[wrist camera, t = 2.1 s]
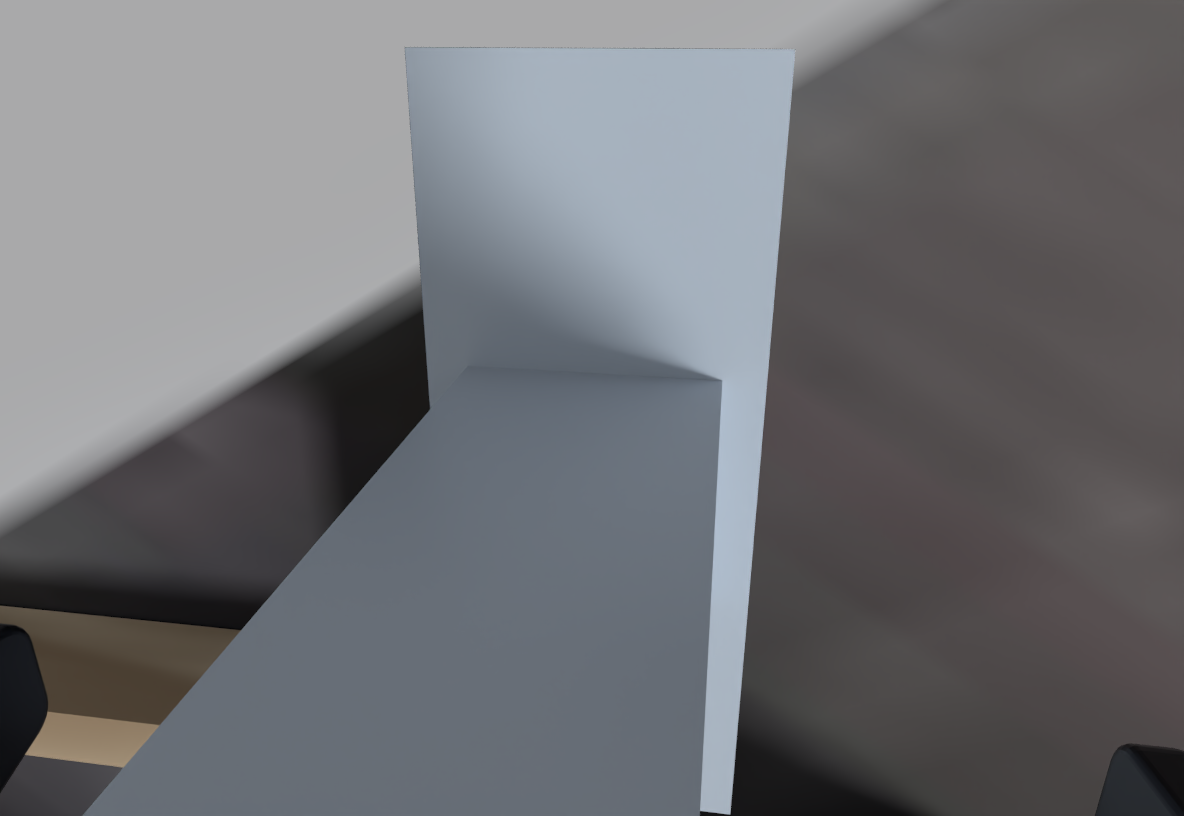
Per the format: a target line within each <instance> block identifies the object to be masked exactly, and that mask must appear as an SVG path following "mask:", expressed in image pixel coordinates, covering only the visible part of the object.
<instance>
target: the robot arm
mask: <svg viewBox="0 0 1184 816" xmlns="http://www.w3.org/2000/svg"><path fill="white" fill-rule="evenodd" d="M47 712H48V696H47V692H46V689H45V685H44V682H43V678H42V675H41V671H40V668H39V664H38V661H37V657H36V654H35V650H34V647H33V643H32V640H31V638H30V636H29V634H28V633H27V632H26V631H25V630H24V629H23V628H21V627H19V626H16V625H11V624H2V623H0V793H1V791H2V790H3V788H4V787H5V785H6V783H7V782H8V780H9V779H10V777H11V776H12V774H13V773H14V771H15V770H16V768H17V766H18V765H19V763H20V762H21V760H22V759H23V757H24V756H25V754H26V752H27V751H28V749H29V748H30V746H31V745H32V743H33V742H34V740H35V739H36V737H37V735H38V734H39V732H40V731H41V729H42V727H43V725H44V722H45V720H46V717H47ZM1095 816H1184V751H1182V750H1179V749H1175V748H1168V747H1159V746H1149V745H1140V744H1125V745H1122V746H1120V747H1119V748H1118V749H1117V750H1116V751H1115V753H1114V755H1113V757H1112V759H1111V762H1110V765H1109V769H1108V772H1107V776H1106V779H1105V783H1104V786H1103V789H1102V793H1101V796H1100V800H1099V803H1098V807H1097V810H1096V814H1095Z"/></svg>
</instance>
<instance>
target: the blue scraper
mask: <svg viewBox="0 0 1184 816" xmlns="http://www.w3.org/2000/svg"><path fill="white" fill-rule="evenodd" d="M405 59H406V71H407V72H406V73H407V87H408V101H409V116H410V130H411V144H412V158H413V173H414V187H415V201H416V215H417V228H418V229H417V230H418V244H419V257H420V273H421V287H422V301H423V315H424V330H425V344H426V358H427V372H428V387H429V401H430V410H429V411H428V413H427V414H426V415H425V416H424V417H423V418H422V420H421V421H420V422H419V423H418V424H417V425H416V427H415V428H414V429H413V430H412V431H411V432H410V434H409V435H408V436H407V437H406V438H405V439H404V441H403V442H402V443H401V444H400V445H399V447H398V448H397V449H396V450H395V451H394V452H393V454H392V455H391V456H390V457H389V458H388V459H387V461H386V462H385V463H384V464H383V465H382V466H381V468H380V469H379V470H378V471H377V472H376V473H375V475H374V476H373V477H372V478H371V479H370V480H369V482H368V483H367V484H366V485H365V486H364V487H363V489H362V490H361V491H360V492H359V493H358V494H357V496H356V497H355V498H354V499H353V500H352V501H351V503H350V504H349V505H348V506H347V507H346V508H345V510H344V511H343V512H342V513H341V514H340V515H339V517H338V518H337V519H336V520H335V521H334V522H333V524H332V525H331V526H330V527H329V528H328V529H327V531H326V532H325V533H324V534H323V535H322V536H321V538H320V539H319V540H318V541H317V542H316V543H315V545H314V546H313V547H312V548H311V549H310V550H309V552H308V553H307V554H306V555H305V556H304V557H303V559H302V560H301V561H300V562H299V563H298V564H297V566H296V567H295V568H294V569H293V570H292V571H291V573H290V574H289V575H288V576H287V577H286V578H285V580H284V581H283V582H282V583H281V584H280V585H279V587H278V588H277V589H276V590H275V591H274V592H273V594H272V595H271V596H270V597H269V598H268V599H267V601H266V602H265V603H264V604H263V605H262V606H261V608H260V609H259V610H258V611H257V612H256V614H255V615H254V616H253V617H252V618H251V619H250V621H249V622H248V623H247V624H246V625H245V626H244V628H243V629H242V630H241V631H240V632H239V633H238V635H237V636H236V637H235V638H234V639H233V640H232V642H231V643H230V644H229V645H228V646H227V647H226V649H225V650H224V651H223V652H222V653H221V654H220V656H219V657H218V658H217V659H216V660H215V661H214V663H213V664H212V665H211V666H210V667H209V668H208V670H207V671H206V672H205V673H204V674H203V675H202V677H201V678H200V679H199V680H198V681H197V682H196V684H195V685H194V686H193V687H192V688H191V689H190V691H189V692H188V693H187V694H186V695H185V696H184V698H183V699H182V700H181V701H180V702H179V703H178V705H177V706H176V707H175V708H174V709H173V710H172V712H171V713H170V714H169V715H168V716H167V717H166V719H165V720H164V721H163V722H162V723H161V724H160V726H159V727H158V728H157V729H156V730H155V731H154V733H153V734H152V735H151V736H150V737H149V738H148V740H147V741H146V742H145V743H144V744H143V745H142V747H141V748H140V749H139V750H138V751H137V752H136V754H135V755H134V756H133V757H132V758H131V759H130V761H129V762H128V763H127V764H126V765H125V766H124V768H123V769H122V770H121V771H120V772H119V774H118V775H117V776H116V777H115V778H114V779H113V781H112V782H111V783H110V784H109V785H108V786H107V788H106V789H105V790H104V791H103V792H102V793H101V795H100V796H99V797H98V798H97V799H96V800H95V802H94V803H93V804H92V805H91V806H90V807H89V809H88V810H87V811H86V812H85V813H84V814H83V816H700V811H705V812H713V813H721V814H729V815H730V812H731V800H732V788H733V777H734V765H735V753H736V741H737V730H738V718H739V706H740V694H741V682H742V671H743V659H744V647H745V635H746V624H747V612H748V600H749V588H750V577H751V565H752V553H753V541H754V529H755V518H756V506H757V494H758V482H759V471H760V459H761V447H762V435H763V424H764V412H765V400H766V388H767V377H768V365H769V353H770V341H771V329H772V318H773V306H774V294H775V282H776V271H777V259H778V247H779V235H780V224H781V212H782V200H783V188H784V177H785V165H786V153H787V141H788V129H789V118H790V106H791V94H792V82H793V71H794V59H795V49H679V48H677V49H675V48H480V47H479V48H478V47H477V48H476V47H475V48H474V47H473V48H472V47H471V48H468V47H467V48H466V47H465V48H464V47H459V48H458V47H456V48H454V47H453V48H452V47H435V48H434V47H405Z"/></svg>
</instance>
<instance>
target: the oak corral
mask: <svg viewBox="0 0 1184 816" xmlns="http://www.w3.org/2000/svg"><path fill="white" fill-rule="evenodd" d="M0 623H2V624H11V625H16V626H19V627H21V628H23V629H24V630H25V631H26V632H27V633H28V634H29V636H30V638H31V640H32V643H33V647H34V650H35V654H36V657H37V661H38V664H39V668H40V671H41V675H42V678H43V682H44V685H45V689H46V692H47V696H48V712H47V717H46V720H45V722H44V725H43V727H42V729H41V731H40V732H39V734H38V735H37V737H36V739H35V740H34V742H33V743H32V745H31V746H30V748H29V749H28V751H27V752H26V754H25V755H31V756H39V757H47V758H54V759H62V760H70V761H78V762H86V763H93V764H101V765H109V766H117V767H124V766H125V765H126V764H127V763H128V762H129V761H130V759H131V758H132V757H133V756H134V755H135V754H136V752H137V751H138V750H139V749H140V748H141V747H142V745H143V744H144V743H145V742H146V741H147V740H148V738H149V737H150V736H151V735H152V734H153V733H154V731H155V730H156V729H157V728H158V727H159V726H160V724H161V723H162V722H163V721H164V720H165V719H166V717H167V716H168V715H169V714H170V713H171V712H172V710H173V709H174V708H175V707H176V706H177V705H178V703H179V702H180V701H181V700H182V699H183V698H184V696H185V695H186V694H187V693H188V692H189V691H190V689H191V688H192V687H193V686H194V685H195V684H196V682H197V681H198V680H199V679H200V678H201V677H202V675H203V674H204V673H205V672H206V671H207V670H208V668H209V667H210V666H211V665H212V664H213V663H214V661H215V660H216V659H217V658H218V657H219V656H220V654H221V653H222V652H223V651H224V650H225V649H226V647H227V646H228V645H229V644H230V643H231V642H232V640H233V639H234V638H235V637H236V636H237V635H238V633H239V632H240V631H241V630H233V629H223V628H214V627H204V626H194V625H184V624H175V623H165V622H155V621H145V620H136V619H126V618H116V617H106V616H97V615H87V614H77V613H67V612H58V611H48V610H38V609H29V608H19V607H9V606H0Z"/></svg>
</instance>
